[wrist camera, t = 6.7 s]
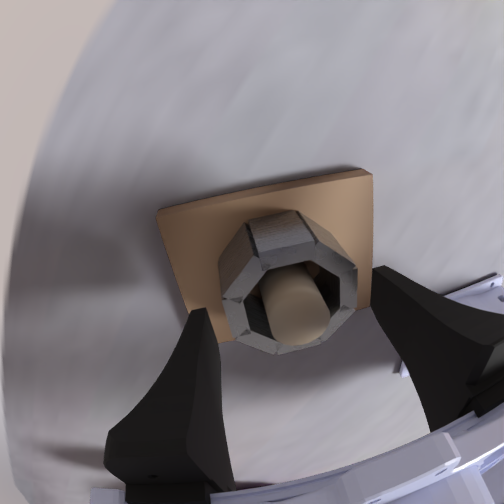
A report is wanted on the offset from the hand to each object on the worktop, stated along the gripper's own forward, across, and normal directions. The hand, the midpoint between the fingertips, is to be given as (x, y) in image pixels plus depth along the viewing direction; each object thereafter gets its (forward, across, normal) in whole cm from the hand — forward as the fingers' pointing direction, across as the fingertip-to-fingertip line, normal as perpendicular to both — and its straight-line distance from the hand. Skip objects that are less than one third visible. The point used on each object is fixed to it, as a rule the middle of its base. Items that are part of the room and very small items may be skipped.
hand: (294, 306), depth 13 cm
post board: (+4, 0, 0) cm, 4 cm away
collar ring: (+3, 0, 0) cm, 3 cm away
